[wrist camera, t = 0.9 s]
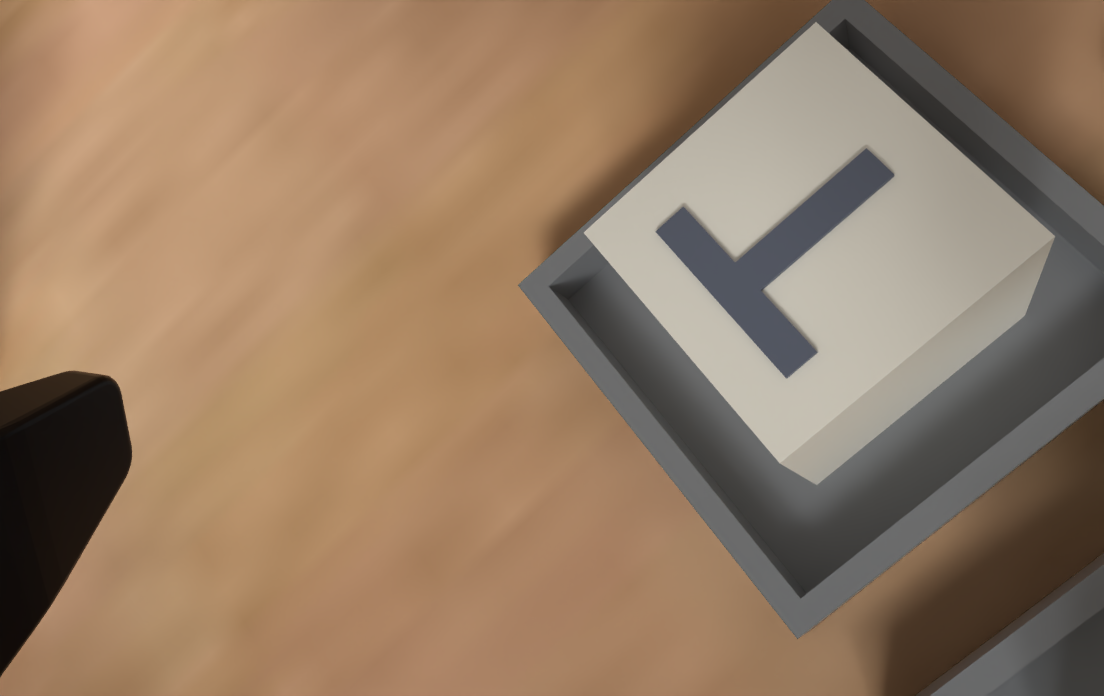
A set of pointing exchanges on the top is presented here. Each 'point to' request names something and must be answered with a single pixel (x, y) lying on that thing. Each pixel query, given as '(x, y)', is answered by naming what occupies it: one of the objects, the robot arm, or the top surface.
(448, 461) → the top surface
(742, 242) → the letter cube
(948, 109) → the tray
